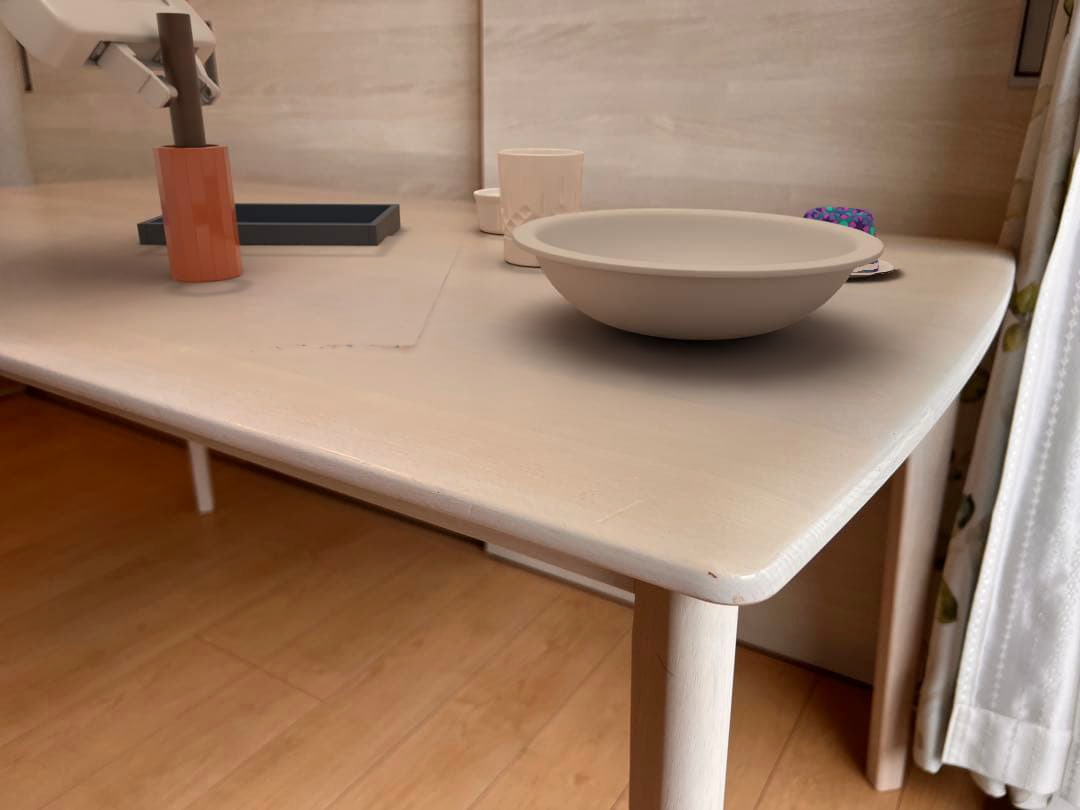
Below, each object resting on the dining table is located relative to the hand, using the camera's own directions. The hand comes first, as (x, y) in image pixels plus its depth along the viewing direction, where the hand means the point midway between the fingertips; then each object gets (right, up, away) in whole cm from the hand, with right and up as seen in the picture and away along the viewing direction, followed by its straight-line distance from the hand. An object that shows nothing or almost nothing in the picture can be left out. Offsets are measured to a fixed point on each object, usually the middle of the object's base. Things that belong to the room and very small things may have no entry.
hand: (191, 101), depth 67 cm
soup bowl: (+37, -19, -8) cm, 42 cm away
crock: (-1, -13, +5) cm, 14 cm away
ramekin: (+24, -4, +32) cm, 40 cm away
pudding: (+54, -11, +12) cm, 57 cm away
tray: (-1, -6, +26) cm, 26 cm away
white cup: (+27, -10, +15) cm, 33 cm away
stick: (-1, -13, +5) cm, 14 cm away
